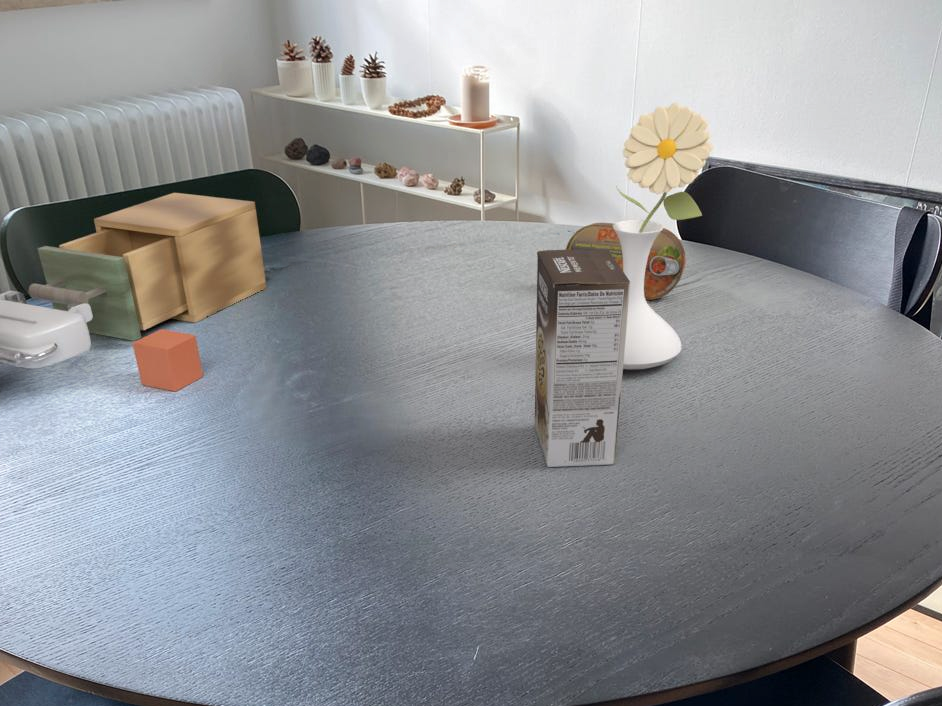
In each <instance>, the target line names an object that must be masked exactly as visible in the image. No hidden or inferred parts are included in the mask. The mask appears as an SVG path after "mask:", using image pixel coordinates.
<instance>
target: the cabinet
mask: <svg viewBox="0 0 942 706" xmlns="http://www.w3.org/2000/svg"><path fill="white" fill-rule="evenodd" d="M93 222H94V226H95V231H96V232H95V233H97V232H100V231H103V230H105V229H108V228H116V229H123V230H131V231H138V232H145V233H153V234H160V235H168V236H175V242H176V248H177V253H178V258H179V264H180V269H181V274H182V280H183V285H184V290H185V296H186V301H187V307H188V310H186V311H184V312H182V313H180V314H178V315H176V316H174V317H171V318H169V320H170V319H171V320H177V321H184V322H187V323H188V322H189V323H198V322H200V321H202V320H204V319H206V318H208V317H211V316H212V314H213V315H215V314H216V312H217V311H219V310H221V311H222V309H223V310H225V309H227V308H229V307H231V306H233V305H235V304H237V303H239V302H241V301H243V300H246V299H247V297H248V298H250V297H252V296H254V295H256V294H258V293H260V292H262V291H264V290H266V289H267V282H266V274H265V266H264V259H263V252H262V244H261V237H260V231H259V223H258V222H259V221H258V216H257V208H256V202H255V201H252V200H242V199H234V198H226V197H215V196H208V195H199V194H191V193H190V194H189V193H181V192H172V193H169V194H166V195H163V196H159V197H157V198H154V199H151V200H147V201H144V202H141V203H138V204H135V205H132V206H128V207H126V208H123V209H120V210H117V211H114V212H111V213H108V214H105V215H101V216H99V217H95V218H94V219H93ZM261 290H262V291H261ZM257 292H258V293H257ZM255 293H256V294H255ZM253 294H254V295H253ZM251 295H252V296H251ZM249 296H250V297H249ZM245 298H246V299H245ZM242 299H243V300H242ZM240 300H241V301H240ZM238 301H239V302H238ZM236 302H237V303H236ZM234 303H235V304H234ZM232 304H233V305H232ZM230 305H231V306H230ZM228 306H229V307H228ZM226 307H227V308H226ZM224 308H225V309H224ZM219 312H220V311H219ZM214 313H215V314H214ZM217 313H218V312H217ZM207 316H208V317H207Z"/></svg>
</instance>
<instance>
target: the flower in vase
mask: <svg viewBox="0 0 942 706" xmlns="http://www.w3.org/2000/svg"><path fill="white" fill-rule="evenodd" d="M708 124H709V123H708V120H706V119H704V118H703V115H702V114H701V113H696V112H695V111H694V110H692V108H691V107H689V106H685V107H684V106H682V105H681V106H680V104H679V103H678V102H673V103H671V104H670V105H669V106H665V107H664V106H661V105H659V106H657V107H655V108H654V110H653V112H650V113H648V114H646V113H643V114H641V115H640V116H639V118H638V121H637V123H636V125H633V126H632V127H631V129H630V134H629V136H628V139H626V140H625V141H624V145H623V147H624V148H623V150H622V157H624V158H626V159H625V161H624V166H625V167H626V168H627V169H628V171H627V173H626V177H627V178H628V179H629V180H631V182H632V183H633V184H638V186H639V188H641V189H644V188H645V189H647V188H648V190H649V192H650V193H653V194H656V195H661V194H662V196H661V197H660V199H659V200H658V202H657V203H656V204H655V206H654V207H653V209H652V210H651V211H650V212H649V211H647V210H646V208H645V207H644V206H643V205H642V204H641V203H640V202H639V201H637V200H636V199H634V198H632V197H630V196H628V195H626V194H624V193H623V192H622V191H621V190H620V189H619V187H618V186H617V185H615V186H616V190H617V191H618V193H619V194H620V195H621V196H622V197H623V198H625V199H626V200H628V201H629V202H631V203H633V204H634V205H636V206H638V207H639V208H641V210H643V211H645V212H646V213H647V214H648V215H647V216H646V218H645V219H626V220H621V221H617V222H615V223H613V224H614V225H613V229H614V230H615V232H616V234H617V235H618V238H619V240H620V243H621V247H622V254H623V272H624V273H625V275H626V276H627V278H628V279H629V281H630V290H629V303H628V315H627V327H626V339H625V351H624V362H623V370H646V369H651V368H656V367H659V366H662V365H665V364H668V363H670V362H672V361H673V360H675V359H676V357H678V355H679V354H680V352H681V351H682V348H683V347H682V342H681V339H680V336H679V335H678V334H677V332H676V331H675V330H674V328H673V327H672V326H671V325H670V324H669V323H668V322H667V321H665V319H664V318H662V317H661V316H660V315H659V314H658V313H657V312H656V311H655V310H654V309H653V308H652V307H651V306H650V305H649V303H648V302H647V300H645V297H644V277H645V269H646V264H647V259H648V256H649V252H650V249H651V247H652V244H653V242H654V240H655V239H656V237H657V236H658V234H659V233H660V232H661V231H662V229H663V228H664V226H663V225H662V224H661V223H659V222H656V221H653V220H651V218H652V217H653V216H654V214H655V213H656V212H657V210H658V209H659V208H660V207H661V205H663V207H664V210H665V211H666V214H667V215H668V217H669V218H670V219H671V220H674V221H683V220H688V219H694V218H699V217H702V216H703V214H702V211H701V210H700V208H699V206H698V204H697V203H696V202H695V200H694V199H693V197H692V196H691V195H690V194H689V193H688V192H687V191H678V192H675V193H673V194H670V195H668V196H667V194H668V193H669V192H671V191H672V189H676V188H684V187H686V186H687V185H690V184H692V183H693V182H694V181H695V179H696V178H697V177H698V175H699V170H701V169H702V168H704V167H705V166H706V163H707V162H706V160H707V159H708V158H709V157H710V154H711V152H712V151H713V144H712V143H711V142H710V141H709V140H710V138H711V133H710V131H709V130H707V128H708ZM662 203H663V204H662Z"/></svg>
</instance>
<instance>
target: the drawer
mask: <svg viewBox="0 0 942 706" xmlns="http://www.w3.org/2000/svg"><path fill="white" fill-rule="evenodd" d="M58 246H59V247H55V246H49V245H44V246H41V247H37V252H38V256H39V260H40V263H41V267H42V270H43V275H44V279H45V283H46V284H40V283H31V284H30V285H29V287H28V295H29V296H30V297H31V299H34V300H39V301H44V302H50V303H51V304H52V309H57V310H63V311H68V308H67V306H68V305H70V304H74V303H75V302H80V303H86V304H89V305H90V307H91V311H92V315H93V317H92V320H91V321H89V322H86V323H87V327H88V330H89V334H95V335H100V336H107V337H112V338H116V339H123V340H128V341H133V342H135V341H138V340H140V339H142V334H141V331H146V330H147V329H150V328H152V327H155V326H156V325H158V324H161V323H163V322H165V321H167V320H170V318H171V317H174V316H176V315H178V314H180V313H182V312H184V311H186V310H188V307H187V301H186V296H185V290H184V285H183V280H182V274H181V269H180V264H179V258H178V253H177V248H176V242H175V236H168V235H160V234H153V233H145V232H138V231H131V230H123V229H116V228H108V229H105V230H103V231H100V232H93V233H91V234H88V235H85V236H83V237H79V238H77V239H74V240H70V241H68V242H65V243H62V244H59V245H58Z"/></svg>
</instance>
